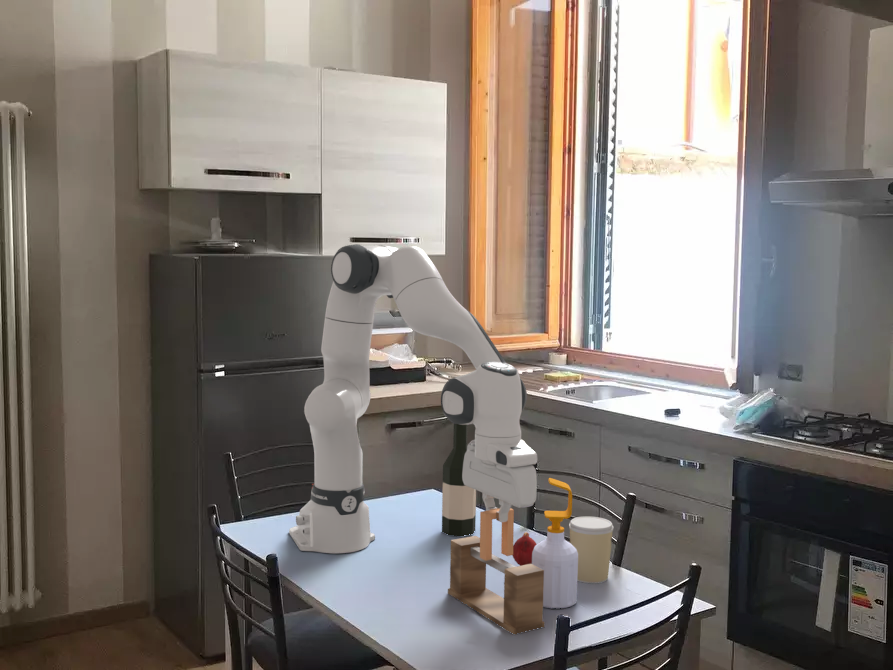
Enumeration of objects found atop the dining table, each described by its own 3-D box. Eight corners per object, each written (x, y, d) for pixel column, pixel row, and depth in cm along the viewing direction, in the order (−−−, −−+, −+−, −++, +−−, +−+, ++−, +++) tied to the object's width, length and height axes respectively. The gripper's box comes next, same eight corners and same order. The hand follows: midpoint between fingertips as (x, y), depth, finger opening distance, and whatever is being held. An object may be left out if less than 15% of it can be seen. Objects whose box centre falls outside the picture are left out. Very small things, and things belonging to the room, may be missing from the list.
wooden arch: (479, 557, 182) (480, 511, 181) (507, 552, 185) (507, 507, 184) (485, 560, 180) (486, 514, 179) (513, 555, 183) (513, 509, 182)
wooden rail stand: (447, 593, 192) (448, 540, 190) (476, 587, 195) (477, 535, 194) (513, 634, 172) (515, 576, 171) (544, 627, 176) (546, 569, 174)
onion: (536, 574, 204) (537, 537, 203) (510, 571, 205) (511, 535, 204) (539, 565, 209) (540, 529, 208) (513, 562, 210) (514, 527, 210)
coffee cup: (620, 579, 201) (622, 524, 200) (587, 588, 196) (589, 531, 195) (591, 566, 209) (593, 513, 208) (558, 574, 204) (560, 519, 202)
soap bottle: (529, 591, 193) (532, 473, 191) (574, 593, 193) (578, 474, 190) (532, 608, 184) (535, 485, 182) (579, 610, 184) (583, 486, 182)
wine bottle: (454, 524, 238) (456, 406, 235) (482, 530, 233) (484, 410, 230) (434, 532, 231) (436, 411, 228) (462, 539, 226) (465, 415, 223)
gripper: (455, 439, 188) (454, 507, 189) (515, 460, 170) (513, 535, 172) (481, 436, 191) (480, 503, 192) (543, 456, 173) (541, 530, 175)
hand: (496, 518), depth 182 cm, fingers closed on wooden arch, 2 cm apart
